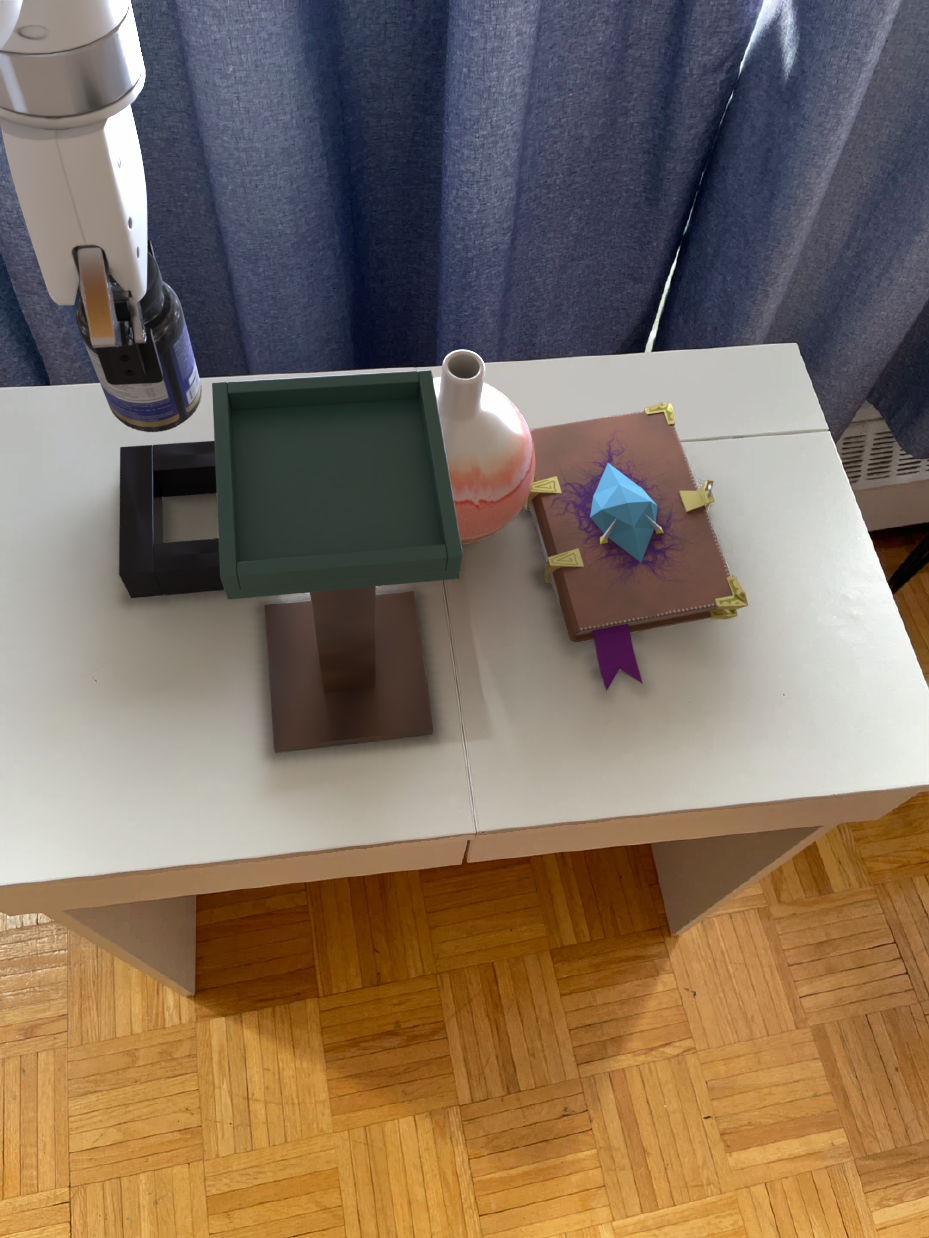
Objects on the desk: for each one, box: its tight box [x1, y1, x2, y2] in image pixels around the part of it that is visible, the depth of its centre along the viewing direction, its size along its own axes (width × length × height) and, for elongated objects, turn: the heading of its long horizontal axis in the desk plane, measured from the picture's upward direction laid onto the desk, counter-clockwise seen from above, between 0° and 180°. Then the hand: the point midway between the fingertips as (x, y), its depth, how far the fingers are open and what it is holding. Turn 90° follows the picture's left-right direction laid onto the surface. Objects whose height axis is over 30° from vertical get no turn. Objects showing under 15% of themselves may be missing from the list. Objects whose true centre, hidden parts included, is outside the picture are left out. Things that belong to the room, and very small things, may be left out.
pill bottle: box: [75, 251, 203, 433], centre depth 58 cm, size 6×6×11 cm
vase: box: [433, 349, 535, 546], centre depth 74 cm, size 14×14×18 cm
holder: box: [118, 440, 225, 599], centre depth 77 cm, size 12×12×4 cm
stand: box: [264, 586, 434, 754], centre depth 62 cm, size 12×12×26 cm
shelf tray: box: [211, 369, 464, 601], centre depth 50 cm, size 12×12×2 cm
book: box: [523, 402, 749, 692], centre depth 79 cm, size 16×25×5 cm, turn 12°
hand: (135, 334), depth 57 cm, fingers closed on pill bottle, 6 cm apart
